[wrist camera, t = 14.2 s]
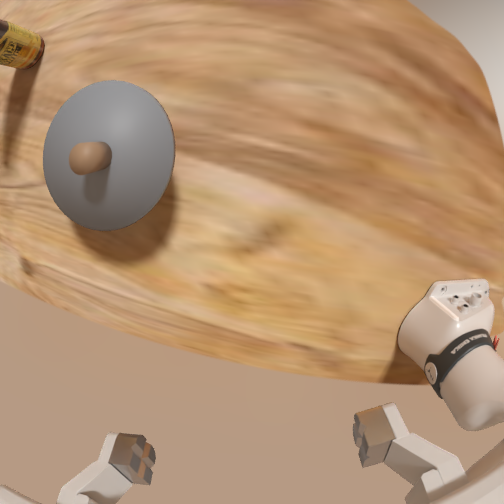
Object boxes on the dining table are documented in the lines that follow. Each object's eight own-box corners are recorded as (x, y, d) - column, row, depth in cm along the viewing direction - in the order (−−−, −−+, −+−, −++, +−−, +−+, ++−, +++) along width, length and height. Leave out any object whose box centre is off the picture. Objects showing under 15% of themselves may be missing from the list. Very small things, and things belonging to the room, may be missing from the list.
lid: (161, 62, 25) (147, 49, 20) (190, 211, 31) (180, 224, 26) (39, 113, 25) (14, 112, 21) (66, 240, 31) (45, 255, 27)
